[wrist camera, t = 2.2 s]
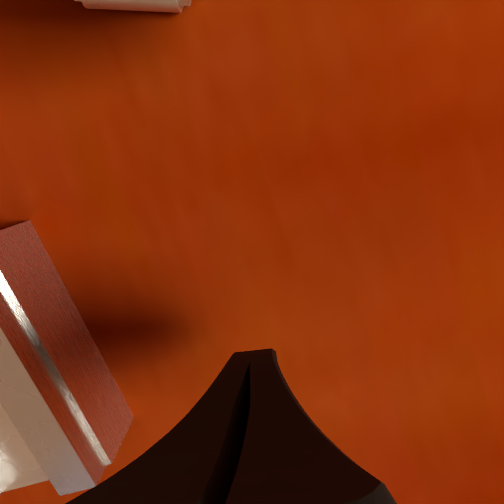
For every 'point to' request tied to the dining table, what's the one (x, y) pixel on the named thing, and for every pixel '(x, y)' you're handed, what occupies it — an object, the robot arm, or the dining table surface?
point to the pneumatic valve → (138, 5)
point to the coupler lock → (50, 378)
